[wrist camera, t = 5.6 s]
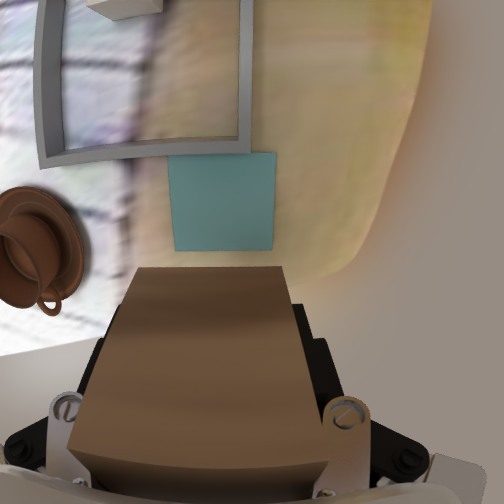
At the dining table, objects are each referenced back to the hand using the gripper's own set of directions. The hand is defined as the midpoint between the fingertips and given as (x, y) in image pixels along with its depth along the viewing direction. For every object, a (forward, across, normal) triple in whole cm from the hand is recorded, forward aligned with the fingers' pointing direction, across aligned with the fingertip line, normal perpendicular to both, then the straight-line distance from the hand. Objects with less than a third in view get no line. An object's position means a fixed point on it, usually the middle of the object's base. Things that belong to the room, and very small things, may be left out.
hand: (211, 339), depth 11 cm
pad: (+15, 0, 0) cm, 15 cm away
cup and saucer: (+16, +18, +3) cm, 24 cm away
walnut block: (+1, 0, 0) cm, 1 cm away
